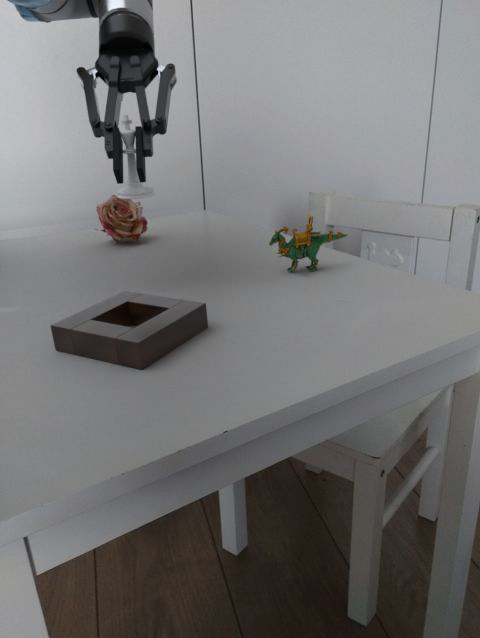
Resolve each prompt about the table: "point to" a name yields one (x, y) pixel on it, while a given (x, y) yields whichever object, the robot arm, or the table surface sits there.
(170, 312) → the hollow square frame
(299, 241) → the figurine
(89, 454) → the table surface
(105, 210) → the flower
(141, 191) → the chess piece
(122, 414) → the table surface
